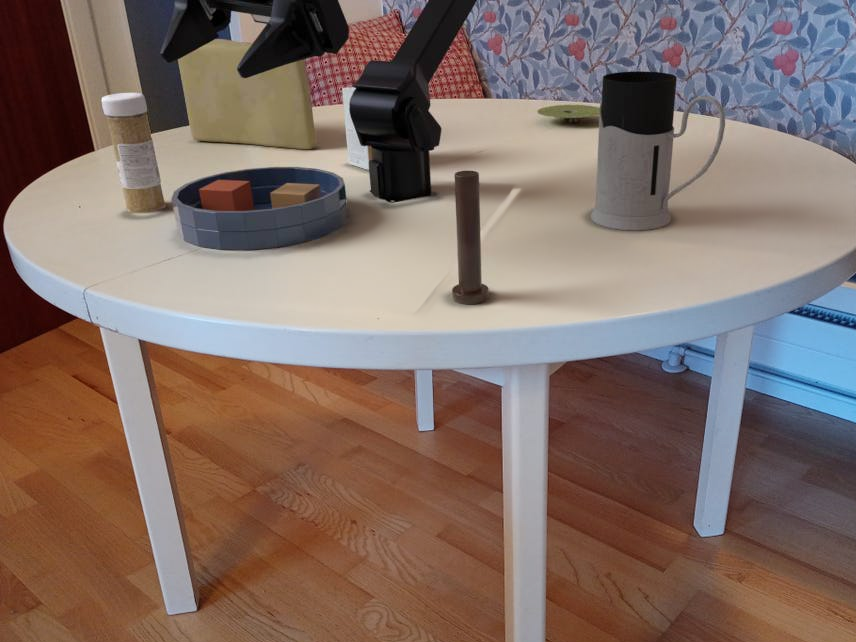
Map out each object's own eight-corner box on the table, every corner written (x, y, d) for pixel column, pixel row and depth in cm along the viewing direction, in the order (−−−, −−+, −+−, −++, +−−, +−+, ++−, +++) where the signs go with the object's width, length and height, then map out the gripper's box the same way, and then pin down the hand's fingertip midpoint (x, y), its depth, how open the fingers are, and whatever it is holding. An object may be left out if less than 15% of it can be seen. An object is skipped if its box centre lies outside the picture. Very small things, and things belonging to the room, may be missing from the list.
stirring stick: (477, 287, 74) (473, 166, 69) (495, 299, 72) (493, 174, 67) (445, 295, 73) (440, 172, 68) (463, 307, 70) (459, 180, 65)
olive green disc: (611, 117, 141) (612, 105, 140) (593, 130, 132) (594, 118, 131) (549, 114, 145) (549, 102, 144) (527, 127, 136) (527, 114, 135)
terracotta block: (223, 213, 94) (217, 179, 92) (255, 215, 93) (250, 181, 91) (205, 224, 91) (198, 189, 89) (237, 226, 90) (231, 190, 88)
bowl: (314, 195, 102) (310, 159, 100) (374, 234, 88) (370, 193, 86) (164, 221, 94) (156, 182, 92) (203, 268, 80) (195, 224, 78)
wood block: (291, 217, 92) (286, 182, 90) (324, 219, 91) (320, 184, 89) (275, 229, 89) (269, 192, 87) (309, 231, 88) (304, 194, 86)
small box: (369, 172, 112) (362, 92, 107) (347, 164, 116) (340, 87, 111) (417, 161, 116) (412, 84, 112) (394, 155, 120) (389, 80, 115)
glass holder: (618, 201, 97) (626, 68, 90) (730, 224, 88) (748, 79, 81) (575, 220, 91) (579, 78, 84) (691, 246, 82) (706, 91, 76)
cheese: (335, 142, 129) (325, 40, 122) (292, 156, 121) (278, 48, 114) (235, 130, 139) (220, 35, 132) (189, 141, 132) (171, 42, 125)
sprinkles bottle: (133, 207, 99) (107, 92, 93) (171, 205, 100) (148, 90, 94) (122, 218, 95) (94, 99, 89) (162, 216, 96) (137, 97, 90)
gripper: (182, -133, 75) (73, -28, 69) (345, -123, 68) (239, -5, 62) (237, -22, 85) (145, 78, 78) (386, -3, 77) (297, 110, 71)
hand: (201, 66), depth 72 cm, fingers open, 9 cm apart
